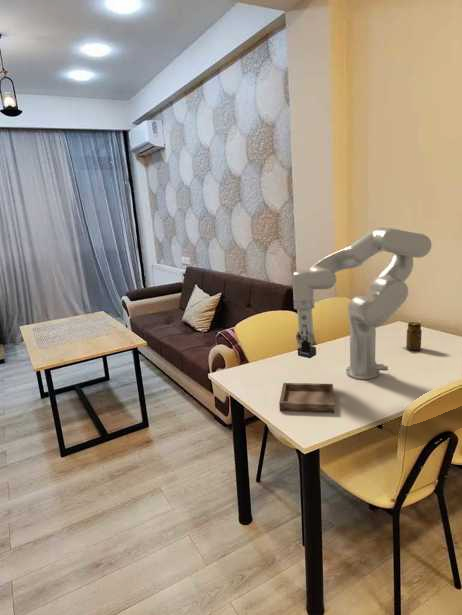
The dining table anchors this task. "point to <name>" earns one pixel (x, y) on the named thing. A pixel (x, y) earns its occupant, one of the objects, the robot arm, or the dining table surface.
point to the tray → (307, 397)
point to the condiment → (414, 338)
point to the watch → (312, 349)
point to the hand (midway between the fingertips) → (306, 347)
